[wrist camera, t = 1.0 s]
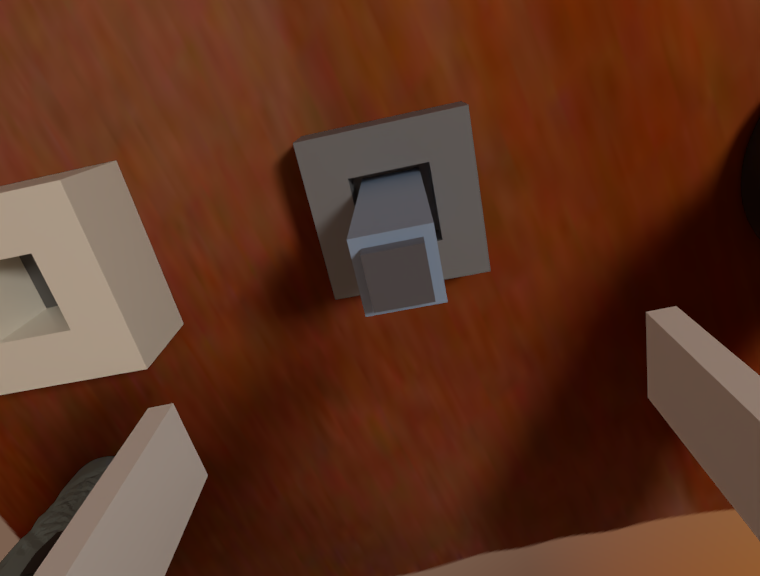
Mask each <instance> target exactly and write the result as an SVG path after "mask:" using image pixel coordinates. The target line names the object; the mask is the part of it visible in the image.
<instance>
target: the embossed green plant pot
mask: <svg viewBox="0 0 760 576" xmlns="http://www.w3.org/2000/svg"><path fill="white" fill-rule="evenodd" d="M114 457H115V456H107V457H101V458H98V459H95V460H93V461H91V462H89V463H88V464H86V465H85V466H84V467H82V468H81V469H80V470H79V471H78V472H77V473H76V475H75V476H74V477H73V478H72V479H71V480H70V481H69V483H68V484H67V485H66V486H65V487H64V488H63V490H62V491H61V493H60V494H59V496H58V497H57V499H56V501H55V502H54V503H53V504H52V505H51V506H50V507H49V508H48V510H47V511H46V512H45V513H44V514H43V515H41V516H40V517H39V518H38V519H37V521H36V523H35V524H34V526H33V528H32V529H31V531H30V532H29V533H28V534H27V535H25V536H24V537H23V538H21V539H20V541H19V542H18V543H17V544H16V545H15V546H14V547H13V548H12V550H11V551H10V552H9V553H8V554H7V555H6V557H5V558H4V559H3V560H2V561H1V562H0V576H20V574H21V572H22V571H23V570H24V568H25V567H26V565H27V564H28V563H29V561H30V560H31V558H32V557H33V556H34V554H35V553H36V552H37V551H38V550H39V549H40V548H41V547H42V546H43V545H44V544H45V543H46V542H47V541H48V540H50V539H51V538H52V537H53V536H54V535H55V534H56V533H57V532H60V531H64V530H65V529H66V527H67V526H68V524H69V523H70V521H71V520H72V518H73V517H74V515H75V514H76V513H77V511H78V510H79V508H80V507H81V505H82V504H83V502H84V501H85V499H86V498H87V496H88V495H89V494H90V492H91V491H92V489H93V488H94V486H95V485H96V483H97V482H98V480H99V479H100V478H101V476H102V475H103V473H104V472H105V470H106V469H107V467H108V466H109V464H110V463H111V462H112V460H113V459H114Z"/></svg>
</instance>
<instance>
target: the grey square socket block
mask: <svg viewBox="0 0 760 576" xmlns="http://www.w3.org/2000/svg"><path fill="white" fill-rule="evenodd" d="M293 146H294V150H295V153H296V157H297V161H298V164H299V168H300V172H301V176H302V179H303V183H304V187H305V190H306V194H307V198H308V201H309V205H310V209H311V212H312V216H313V220H314V223H315V227H316V231H317V234H318V238H319V242H320V245H321V249H322V253H323V256H324V260H325V264H326V267H327V271H328V275H329V278H330V282H331V286H332V289H333V293H334V297H335V300H337V299H342V298H348V297H353V296H358V295H360V291H359V287H358V283H357V279H356V275H355V271H354V267H353V263H352V259H351V255H350V251H349V247H348V243H347V236H348V232H349V228H350V224H351V221H352V217H353V213H354V209H355V205H356V201H357V197H358V193H359V190H360V186H361V182H362V179H365V178H370V177H375V176H379V175H384V174H389V173H394V172H399V171H403V170H408V169H413V168H418V167H419V169H420V173H421V177H422V180H423V184H424V188H425V192H426V195H427V199H428V203H429V207H430V210H431V214H432V218H433V222H434V227H435V233H436V238H437V244H438V250H439V255H440V261H441V267H442V273H443V278H444V280H445V279H450V278H456V277H461V276H467V275H472V274H477V273H483V272H488V271H490V263H489V256H488V248H487V241H486V233H485V226H484V218H483V211H482V204H481V196H480V189H479V181H478V174H477V166H476V159H475V151H474V144H473V136H472V129H471V121H470V114H469V107H468V104H466V103H464V102H462V101H460V102H455V103H451V104H446V105H442V106H437V107H433V108H428V109H424V110H419V111H414V112H410V113H405V114H401V115H396V116H392V117H387V118H383V119H378V120H374V121H369V122H365V123H360V124H355V125H351V126H346V127H342V128H337V129H333V130H328V131H324V132H319V133H315V134H310V135H306V136H301V137H300V138H299V139H297V140H296V141H295V142H294V143H293Z"/></svg>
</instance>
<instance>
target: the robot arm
mask: <svg viewBox="0 0 760 576" xmlns="http://www.w3.org/2000/svg"><path fill="white" fill-rule="evenodd" d="M741 191H742V200H743V205H744V210H745V213H746V216H747V218H748V221H749V223H750V225H751V227H752V228H753V230H754V232H755V233H756V234H757V236H758V237H759V238H760V119H759V121H758V123H757V125H756V127H755V129H754V131H753V133H752V136H751V138H750V141H749V144H748V147H747V150H746V154H745V158H744V163H743V168H742V177H741ZM646 345H647V388H648V399H649V400H650V401H651V402H652V404H653V405H654V406H655V408H656V409H657V410H658V411H659V413H660V414H661V415H662V417H663V418H664V419H665V420H666V422H667V423H668V424H669V425H670V427H671V428H672V429H673V431H674V432H675V433H676V434H677V436H678V437H679V438H680V440H681V441H682V442H683V443H684V445H685V446H686V447H687V448H688V450H689V451H690V452H691V454H692V455H693V456H694V457H695V459H696V460H697V461H698V463H699V464H700V465H701V466H702V468H703V469H704V470H705V471H706V473H707V474H708V475H709V477H710V478H711V479H712V480H713V482H714V483H715V484H716V486H717V487H718V488H719V489H720V491H721V492H722V493H723V494H724V496H725V497H726V498H727V500H728V501H729V502H730V503H731V505H732V506H733V507H734V509H735V510H736V511H737V512H738V513H739V515H740V516H741V517H742V519H743V520H744V521H745V523H746V524H747V525H748V526H749V528H750V529H751V530H752V532H753V533H754V534H755V535H756V537H757V538H758V539H759V541H760V376H759V375H758V374H757V373H756V372H755V371H753V370H752V369H751V368H750V367H749V366H747V365H746V364H745V363H744V362H743V361H741V360H740V359H739V358H738V357H737V356H735V355H734V354H733V353H732V352H731V351H729V350H728V349H727V348H726V347H725V346H723V345H722V344H721V343H720V342H719V341H718V340H716V339H715V338H714V337H713V336H712V335H710V334H709V333H708V332H707V331H706V330H704V329H703V328H702V327H701V326H700V325H698V324H697V323H696V322H695V321H694V320H692V319H691V318H690V317H689V316H688V315H686V314H685V313H684V312H683V311H682V310H681V309H679V308H678V307H677V306H674V307H668V308H663V309H658V310H653V311H648V312H646ZM207 476H208V474H207V472H206V470H205V468H204V466H203V464H202V462H201V460H200V458H199V456H198V454H197V452H196V450H195V448H194V446H193V444H192V441H191V439H190V437H189V435H188V433H187V431H186V429H185V427H184V425H183V423H182V421H181V419H180V417H179V415H178V413H177V411H176V408H175V406H174V404H173V403H172V404H167V405H162V406H157V407H152V408H148V409H147V411H146V412H145V413H144V415H143V416H142V418H141V419H140V421H139V422H138V424H137V425H136V427H135V428H134V430H133V431H132V432H131V434H130V435H129V437H128V438H127V440H126V441H125V443H124V444H123V446H122V447H121V448H120V450H119V451H118V453H117V454H116V456H115V457H114V459H113V460H112V462H111V463H110V464H109V466H108V467H107V469H106V470H105V472H104V473H103V475H102V476H101V478H100V479H99V480H98V482H97V483H96V485H95V486H94V488H93V489H92V491H91V492H90V494H89V495H88V496H87V498H86V499H85V501H84V502H83V504H82V505H81V507H80V508H79V510H78V511H77V513H76V514H75V515H74V517H73V518H72V520H71V521H70V523H69V524H68V526H67V527H66V529H65V530H64V531H60V532H57V533H56V534H55V535H54V536H53V537H52V538H51V539H50V540H48V541H47V542H46V543H45V544H44V545H43V546H42V547H41V548H40V549H39V550H38V551H37V552H36V553H35V554H34V556H33V557H32V558H31V560H30V561H29V563H28V564H27V565H26V567H25V568H24V570H23V571H22V572H21V574H20V576H165V574H166V572H167V569H168V567H169V565H170V562H171V560H172V558H173V555H174V553H175V551H176V549H177V546H178V544H179V542H180V539H181V537H182V535H183V532H184V530H185V528H186V525H187V523H188V521H189V518H190V516H191V514H192V511H193V509H194V507H195V504H196V502H197V500H198V497H199V495H200V493H201V490H202V488H203V486H204V483H205V481H206V479H207Z"/></svg>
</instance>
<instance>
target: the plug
mask: <svg viewBox="0 0 760 576" xmlns="http://www.w3.org/2000/svg"><path fill="white" fill-rule="evenodd" d="M347 243H348V247H349V251H350V255H351V259H352V263H353V267H354V271H355V275H356V279H357V283H358V287H359V291H360V296H361V300H362V304H363V308H364V312H365V316H366V317H367V316H373V315H379V314H384V313H390V312H395V311H401V310H406V309H412V308H417V307H423V306H429V305H434V304H440V303H445V302H448V301H447V295H446V290H445V284H444V278H443V273H442V267H441V261H440V255H439V250H438V244H437V238H436V233H435V227H434V222H433V218H432V214H431V210H430V207H429V203H428V199H427V195H426V192H425V188H424V184H423V180H422V177H421V173H420V169H419V167H418V168H413V169H408V170H403V171H399V172H394V173H389V174H384V175H379V176H375V177H370V178H365V179H362V182H361V186H360V190H359V193H358V197H357V201H356V205H355V209H354V213H353V217H352V221H351V224H350V228H349V232H348V236H347Z"/></svg>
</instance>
